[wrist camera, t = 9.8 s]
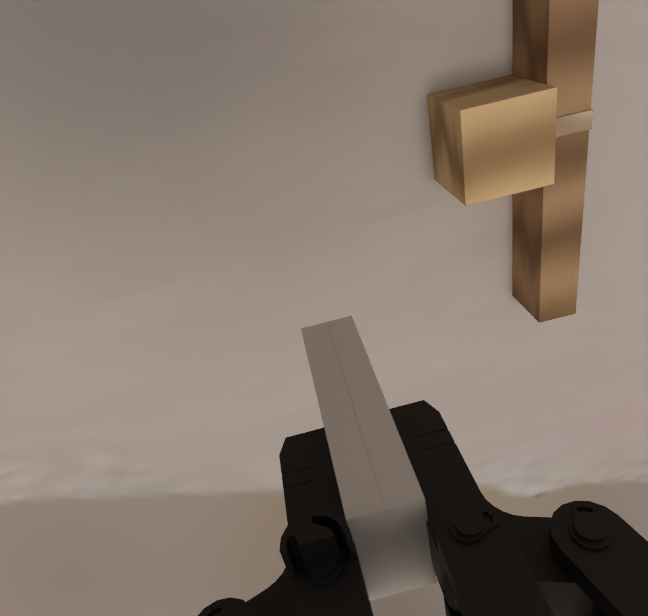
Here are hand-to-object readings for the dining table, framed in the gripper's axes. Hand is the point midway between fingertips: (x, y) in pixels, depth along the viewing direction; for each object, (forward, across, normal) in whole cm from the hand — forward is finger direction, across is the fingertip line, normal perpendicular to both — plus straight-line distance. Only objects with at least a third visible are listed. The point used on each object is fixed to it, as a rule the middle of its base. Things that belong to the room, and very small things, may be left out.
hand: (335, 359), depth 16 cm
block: (+25, +14, -2) cm, 28 cm away
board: (+24, +19, -4) cm, 31 cm away
